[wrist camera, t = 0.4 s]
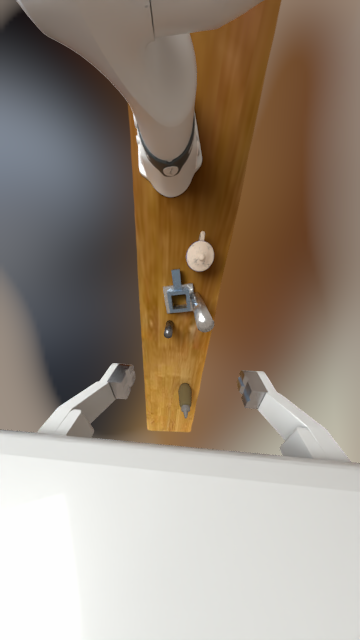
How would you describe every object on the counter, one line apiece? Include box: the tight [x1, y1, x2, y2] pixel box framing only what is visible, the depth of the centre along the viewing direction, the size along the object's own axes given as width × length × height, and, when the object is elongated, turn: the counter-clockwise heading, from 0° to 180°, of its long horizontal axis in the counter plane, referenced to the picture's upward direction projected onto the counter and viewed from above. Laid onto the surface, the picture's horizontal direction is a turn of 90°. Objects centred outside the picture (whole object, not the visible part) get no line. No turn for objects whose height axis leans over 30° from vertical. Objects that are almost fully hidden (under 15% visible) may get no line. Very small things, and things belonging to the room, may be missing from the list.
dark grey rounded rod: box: [164, 320, 173, 338], centre depth 58 cm, size 3×3×10 cm
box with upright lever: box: [163, 269, 214, 332], centre depth 43 cm, size 18×15×26 cm
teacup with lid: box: [186, 231, 214, 272], centre depth 43 cm, size 12×9×12 cm
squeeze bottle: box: [178, 383, 192, 418], centre depth 74 cm, size 8×8×18 cm
